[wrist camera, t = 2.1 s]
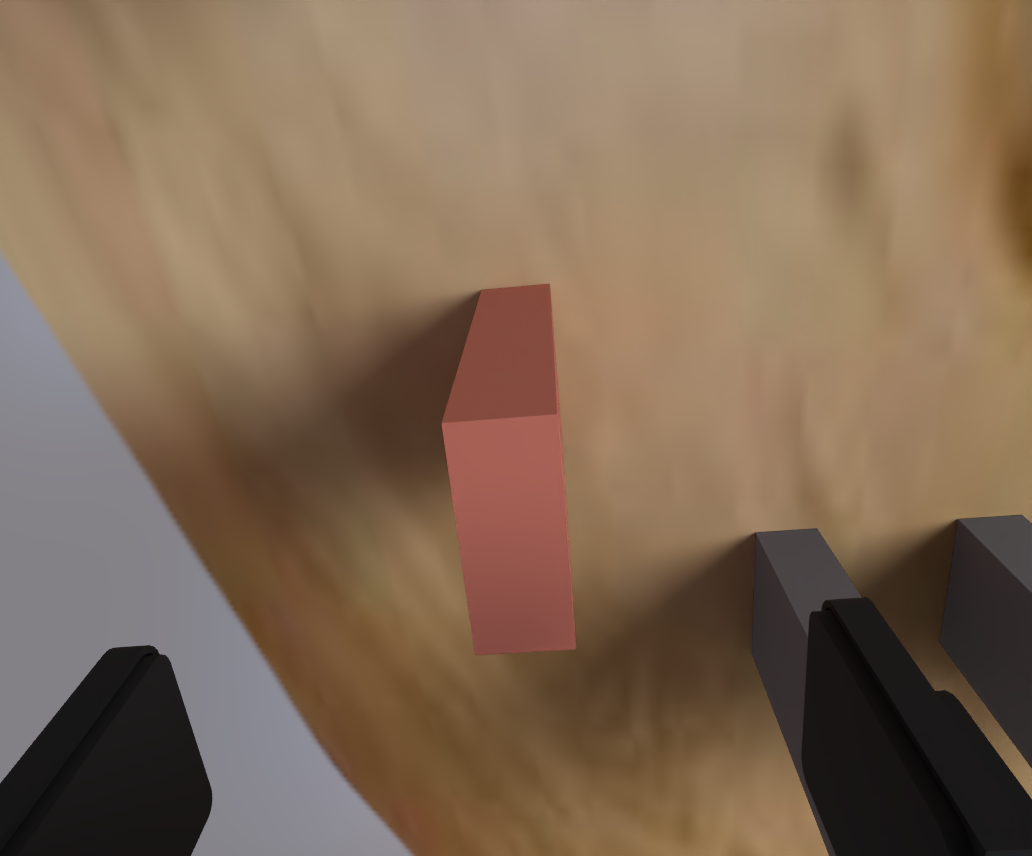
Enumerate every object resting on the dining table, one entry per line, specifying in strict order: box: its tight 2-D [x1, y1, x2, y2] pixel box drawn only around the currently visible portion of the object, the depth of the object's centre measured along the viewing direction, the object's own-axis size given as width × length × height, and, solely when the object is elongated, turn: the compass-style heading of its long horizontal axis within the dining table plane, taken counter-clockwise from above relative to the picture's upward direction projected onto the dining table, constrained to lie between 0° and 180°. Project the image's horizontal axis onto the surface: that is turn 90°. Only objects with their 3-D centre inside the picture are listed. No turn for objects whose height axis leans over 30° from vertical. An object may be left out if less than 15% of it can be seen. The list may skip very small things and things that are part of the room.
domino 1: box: [752, 529, 861, 856], centre depth 22 cm, size 2×5×10 cm, turn 5°
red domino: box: [441, 284, 576, 655], centre depth 19 cm, size 2×5×10 cm, turn 6°
